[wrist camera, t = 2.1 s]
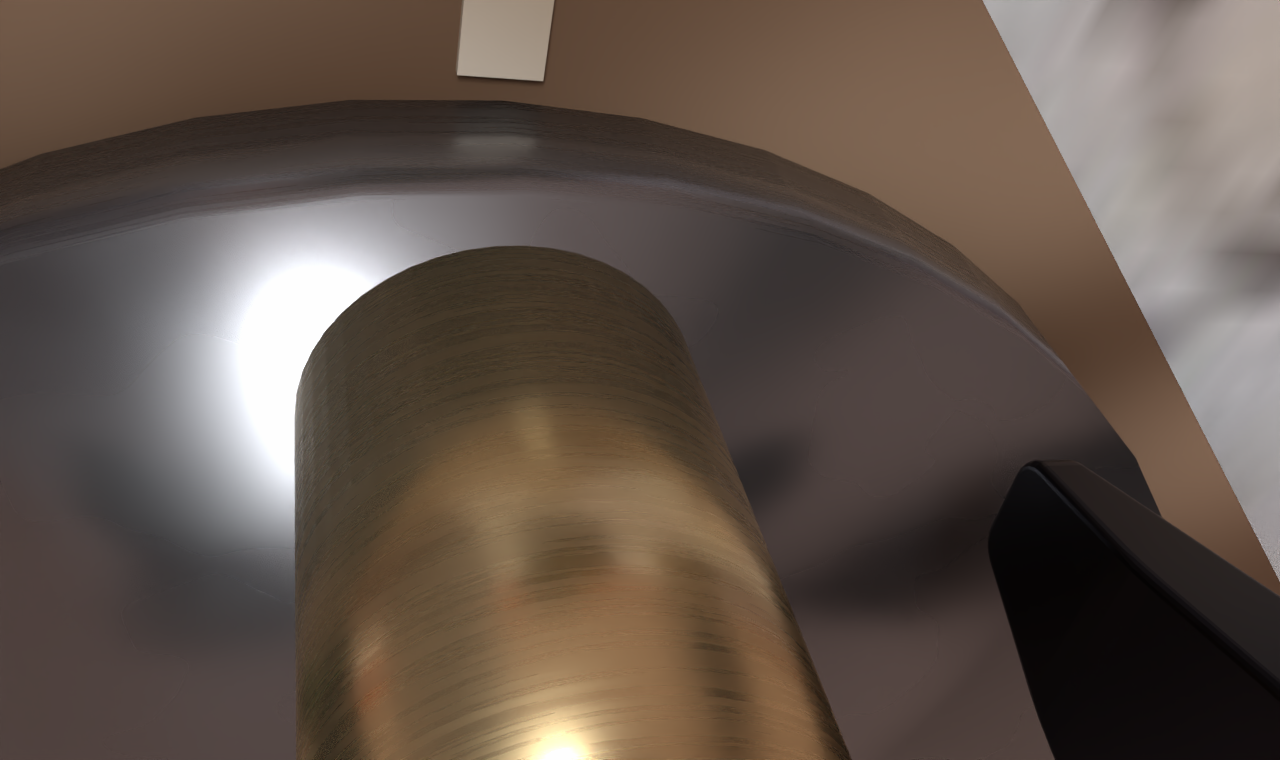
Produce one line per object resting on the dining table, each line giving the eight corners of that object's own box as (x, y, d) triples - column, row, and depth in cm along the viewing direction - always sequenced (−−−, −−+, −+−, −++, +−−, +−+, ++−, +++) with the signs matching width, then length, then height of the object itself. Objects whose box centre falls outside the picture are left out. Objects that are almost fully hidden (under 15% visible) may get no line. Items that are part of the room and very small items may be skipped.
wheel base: (1216, 531, 22) (1328, 673, 19) (366, 1014, 26) (374, 1175, 24) (517, -735, 9) (596, -760, 7) (-867, 615, 14) (-1099, 870, 11)
